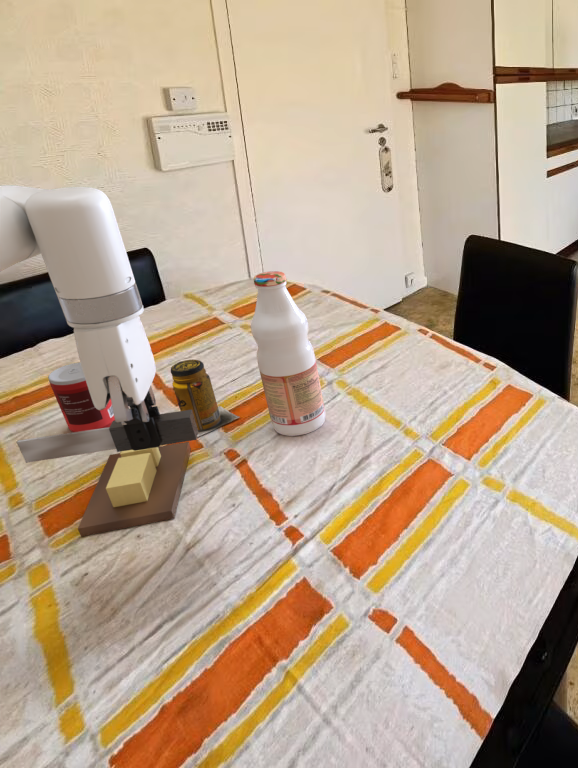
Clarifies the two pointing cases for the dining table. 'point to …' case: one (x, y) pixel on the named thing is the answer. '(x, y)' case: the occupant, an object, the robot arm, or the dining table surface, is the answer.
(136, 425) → the robot arm
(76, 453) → the knife
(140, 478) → the butter stick
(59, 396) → the canned food
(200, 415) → the condiment
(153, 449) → the butter slice
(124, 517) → the board
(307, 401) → the fruit juice
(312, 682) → the dining table surface
